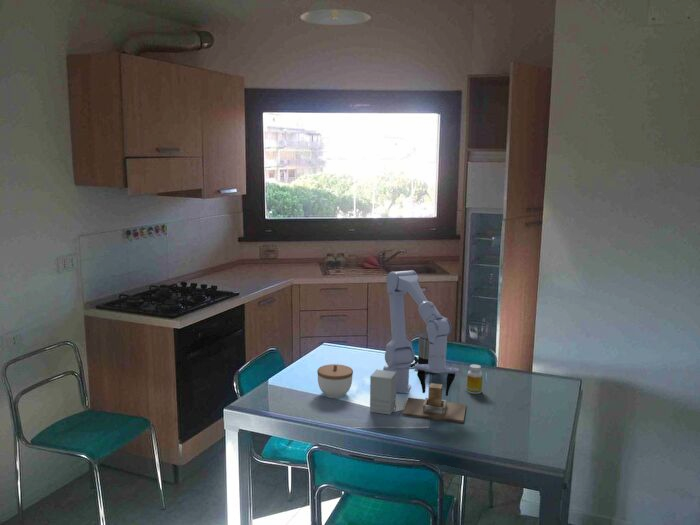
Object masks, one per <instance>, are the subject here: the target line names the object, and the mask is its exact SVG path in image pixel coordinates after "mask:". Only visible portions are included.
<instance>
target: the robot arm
mask: <svg viewBox="0 0 700 525" xmlns="http://www.w3.org/2000/svg"><path fill="white" fill-rule="evenodd" d="M385 279H386V280H385V281H386V293H387V294H388V300H389V301H388V302H389V315H390V316H389V318H390V331H391V340H390V341H389V342H388V343H387V344H386V345H385V352H384V361H385V363H386V364H384V365H383V368H382V370H385V371H393V372H396V393H397V394H398V393H399V394H409V391H410V389H411V387H412V385H411V384H409V381H410V380H409V378H410V367H409V366H411V364H413V363H414V362H415V360H414V358H415V356H416V355H415V351H414V348H413V343H412V342H411V341H409V340H408V339H407V330H406V328H407V327H406V318H405V317H406V314H405V299H404V298H405V297H404V296H405V295H406V294H407V293H408V294H409V296H410V297H411V298H412V299H413V301H415V302H414V303H416V304H417V306H418V309H417V311H418V314H419V316H420V317H421V318H422V320H423V321H424V323H425V325H426V327H425V329H426V331H425V332H427V334H428V341H429V359H428V364H418V363H417V364H415V366H414V369H413V370H414V372H417V374H416V375H417V378H418V379H419V382H420V385H421V391H422V393H423V394H425V393H426V380H427V378H426V377H427V374H426V372H433V373H437V374H445V375H446V387H445V388H446V389H445V397H448V395H449V390H450V389H451V386H452V383H453V382H454V381H455V377H458V376H459V374H460V373H459V372H460V368H459V367H458V368H457V367H452V366H448V365H446V362H447V344H448V336H449V335H451V332H452V324H451V321H450V320H449V318H447V317H444V316H443V315H441V313H440V312H439V310H438V309H437V307H436V305H434V303H433V302H432V301H429V300H428V299H427V297H426V296H425V293H424V292H423V289H422V288H421V286H420V284H419V283H420V278H419V275H418V274H417V272H416V270H413V269H410V270H400V271H399V270H398V271H390V272H388V275H387V276H386V278H385Z"/></svg>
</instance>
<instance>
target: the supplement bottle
mask: <svg viewBox="0 0 700 525" xmlns="http://www.w3.org/2000/svg"><path fill="white" fill-rule="evenodd" d="M466 376H467V377H466V392H467V393H469V394H472V395H473V394H474V395H477V394H478V395H479V394H481V393H482V389H483V386H482V385H483V372H482V367H481V365H479V364H470V365H469V370H468V371H467V375H466Z"/></svg>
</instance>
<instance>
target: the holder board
mask: <svg viewBox="0 0 700 525" xmlns="http://www.w3.org/2000/svg"><path fill="white" fill-rule="evenodd" d="M428 400H429V397H425V399H424V398H415V397H408V398H407V400H406V402H405V405H404V406H403V410H402V412H401V416H402V417H403V416H404V417H414V418H419V419H420V418H421V419H427V420H428V419H429V420H435V421H436V420H438V421H446V422H454V423H461V424H462V423H463V424H464V423H465V422H464V421H465V414H466V408H467V404H466V403H458V402H450V401H448V400H447V399H442V404H441V407H438V406H429V405H428Z"/></svg>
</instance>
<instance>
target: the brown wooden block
mask: <svg viewBox="0 0 700 525" xmlns="http://www.w3.org/2000/svg"><path fill="white" fill-rule="evenodd" d="M428 398H429V400H428V405H429V406H438V407H441V404H442V400H443V384H442V383H441V384H440V383H433V382H431V383H430V384H429V386H428Z"/></svg>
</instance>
